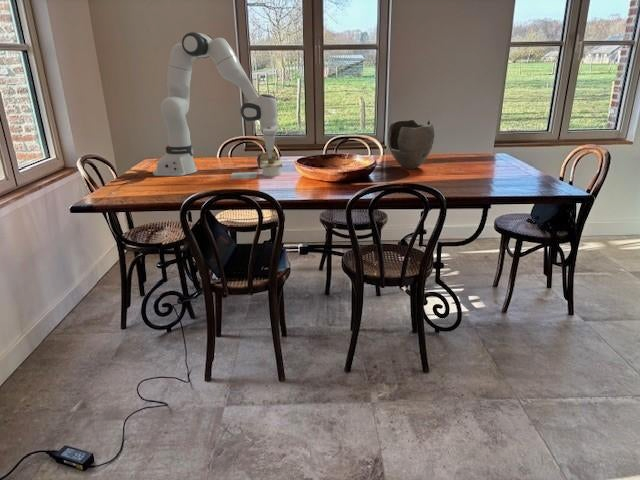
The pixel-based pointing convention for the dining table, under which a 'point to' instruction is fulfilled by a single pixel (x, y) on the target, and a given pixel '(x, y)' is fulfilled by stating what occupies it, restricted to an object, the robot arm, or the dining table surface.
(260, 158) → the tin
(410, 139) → the clay pot
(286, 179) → the dining table surface
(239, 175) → the mat
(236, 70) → the robot arm
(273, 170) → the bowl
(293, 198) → the dining table surface
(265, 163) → the lid
